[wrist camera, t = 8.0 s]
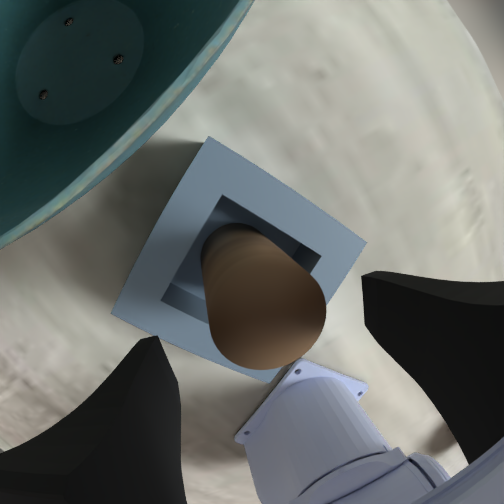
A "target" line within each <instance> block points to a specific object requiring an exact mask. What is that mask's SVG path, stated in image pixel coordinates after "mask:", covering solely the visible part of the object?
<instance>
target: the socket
mask: <svg viewBox="0 0 504 504" xmlns="http://www.w3.org/2000/svg"><path fill="white" fill-rule="evenodd" d="M231 223H243V224H247V225H250V226H252V227H254V228H256V229H257V230H259V231H260V232H261V233H262V234H263V235H265V236H266V237H267V238H268V239H269V240H270V241H272V242H273V243H274V244H275V245H276V246H278V247H279V248H280V249H281V250H282V251H284V252H285V253H286V254H287V255H288V256H289V257H291V258H292V259H293V260H294V261H295V262H296V263H298V264H299V265H300V266H301V267H302V268H303V269H305V270H306V271H307V272H308V273H309V274H310V275H311V276H312V277H313V278H315V280H316V281H317V282H318V284H319V285H320V287H321V289H322V291H323V294H324V296H325V301H326V305H327V304H328V302H329V301H330V299H331V298H332V296H333V295H334V294H335V292H336V291H337V289H338V287H339V286H340V284H341V283H342V281H343V280H344V278H345V277H346V275H347V274H348V272H349V271H350V269H351V267H352V266H353V264H354V263H355V261H356V260H357V258H358V256H359V255H360V253H361V252H362V250H363V248H364V247H365V245H366V243H367V242H366V241H364V240H363V239H362V238H360V237H359V236H358V235H356V234H355V233H354V232H352V231H351V230H350V229H348V228H347V227H345V226H344V225H343V224H341V223H340V222H339V221H337V220H336V219H334V218H333V217H332V216H330V215H329V214H327V213H326V212H325V211H323V210H322V209H320V208H319V207H317V206H316V205H315V204H313V203H312V202H310V201H309V200H307V199H306V198H304V197H303V196H302V195H300V194H299V193H297V192H296V191H294V190H293V189H291V188H290V187H288V186H287V185H285V184H284V183H282V182H281V181H279V180H278V179H276V178H275V177H273V176H272V175H270V174H269V173H267V172H266V171H264V170H263V169H261V168H259V167H258V166H256V165H255V164H253V163H252V162H250V161H248V160H247V159H245V158H244V157H242V156H241V155H239V154H237V153H236V152H234V151H233V150H231V149H229V148H228V147H226V146H224V145H223V144H221V143H220V142H218V141H216V140H215V139H213V138H211V137H210V136H208V138H207V139H206V141H205V142H204V144H203V145H202V147H201V149H200V150H199V152H198V153H197V155H196V157H195V158H194V160H193V161H192V163H191V165H190V166H189V168H188V169H187V171H186V173H185V174H184V176H183V178H182V179H181V181H180V183H179V184H178V186H177V188H176V190H175V191H174V193H173V195H172V196H171V198H170V200H169V202H168V203H167V205H166V207H165V209H164V210H163V212H162V214H161V216H160V217H159V219H158V221H157V223H156V225H155V226H154V228H153V230H152V232H151V234H150V236H149V238H148V239H147V241H146V243H145V245H144V247H143V249H142V251H141V253H140V255H139V257H138V258H137V260H136V262H135V264H134V266H133V268H132V270H131V272H130V274H129V276H128V278H127V280H126V282H125V284H124V286H123V288H122V291H121V293H120V295H119V297H118V299H117V301H116V303H115V305H114V307H113V310H112V312H111V314H113V315H114V316H116V317H118V318H120V319H122V320H124V321H126V322H128V323H130V324H132V325H134V326H136V327H138V328H140V329H142V330H144V331H146V332H148V333H150V334H152V335H154V336H156V335H158V337H159V338H160V339H163V340H165V341H167V342H169V343H171V344H173V345H175V346H178V347H180V348H182V349H184V350H187V351H189V352H191V353H193V354H196V355H198V356H200V357H203V358H205V359H207V360H210V361H212V362H215V363H217V364H220V365H222V366H224V367H227V368H229V369H232V370H235V371H237V372H240V373H242V374H245V375H247V376H250V377H253V378H255V379H258V380H261V381H264V382H266V383H270V382H271V381H272V380H273V378H274V377H275V376H276V374H277V373H278V372H279V371H280V369H281V368H282V367H283V366H282V367H279V368H275V369H269V370H253V369H247V368H244V367H241V366H238V365H236V364H234V363H232V362H231V361H229V360H228V359H226V358H225V357H224V356H223V355H222V354H221V353H220V351H219V350H218V349H217V347H216V346H215V344H214V342H213V339H212V337H211V333H210V328H209V321H208V314H207V307H206V300H205V293H204V285H203V277H202V269H201V259H200V257H201V250H202V247H203V244H204V242H205V241H206V239H207V238H208V236H209V235H210V234H211V233H212V232H213V231H215V230H216V229H218V228H219V227H221V226H223V225H226V224H231Z"/></svg>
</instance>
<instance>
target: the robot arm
mask: <svg viewBox="0 0 504 504" xmlns="http://www.w3.org/2000/svg"><path fill="white" fill-rule="evenodd" d="M361 279H362V291H363V305H364V322H365V326H366V327H367V329H368V330H369V332H370V333H371V335H372V336H373V337H374V339H375V340H376V341H377V342H378V344H379V345H380V346H381V347H382V348H383V349H384V350H385V351H386V352H387V353H388V354H389V355H390V356H391V357H392V358H393V359H394V360H395V361H396V362H397V363H398V364H399V365H400V366H401V367H402V368H403V369H404V370H405V371H406V372H407V373H408V374H409V375H410V376H411V377H412V378H413V379H414V380H415V381H416V382H417V383H418V385H419V386H420V387H421V388H422V389H423V391H424V392H425V393H426V395H427V396H428V397H429V399H430V400H431V401H432V403H433V404H434V405H435V407H436V408H437V410H438V411H439V413H440V414H441V416H442V417H443V419H444V420H445V422H446V423H447V425H448V427H449V428H450V430H451V432H452V433H453V435H454V437H455V438H456V440H457V442H458V444H459V446H460V448H461V449H462V451H463V453H464V455H465V457H466V459H467V462H468V464H469V465H468V466H467V467H466V468H464V469H463V470H462V471H460V472H459V473H457V474H456V475H455V476H453V477H452V478H451V477H450V476H449V475H448V473H447V472H446V471H445V469H444V468H443V467H442V466H441V465H440V464H439V463H438V462H437V461H436V460H435V459H434V458H432V457H431V456H429V455H425V454H420V453H416V452H414V453H412V454H410V455H409V456H407V457H406V456H405V455H404V453H403V452H402V451H401V449H400V448H399V447H396V448H395V449H393V450H392V448H391V447H390V445H389V444H388V443H387V441H386V440H385V439H384V437H383V436H382V434H381V433H380V432H379V430H378V429H377V427H376V426H375V425H374V423H373V422H372V421H371V419H370V418H369V416H368V415H367V414H366V412H365V411H364V409H363V408H362V407H361V405H360V404H359V403H358V401H359V399H360V398H361V397H362V396H363V395H364V394H365V392H366V391H367V390H368V387H369V386H368V385H367V383H365V382H362V381H360V380H357V379H354V378H352V377H349V376H346V375H344V374H341V373H339V372H336V371H333V370H331V369H328V368H326V367H323V366H321V365H318V364H316V363H313V362H311V361H308V360H306V359H298V360H297V361H296V362H295V363H294V364H293V365H292V367H291V368H290V369H289V371H288V372H287V373H286V374H285V376H284V377H283V378H282V380H281V381H280V382H279V383H278V385H277V386H276V387H275V388H274V390H273V391H272V392H271V393H270V395H269V396H268V397H267V398H266V400H265V401H264V402H263V403H262V405H261V406H260V407H259V408H258V409H257V411H256V412H255V413H254V414H253V415H252V417H251V418H250V419H249V420H248V421H247V422H246V424H245V425H244V426H243V427H242V428H241V429H240V431H239V432H238V433H237V434H236V435H235V437H234V440H235V442H236V443H239V444H243V445H244V447H245V451H246V455H247V459H248V463H249V466H250V470H251V474H252V478H253V481H254V485H255V488H256V492H257V495H258V498H259V499H260V501H261V503H262V504H504V281H498V282H459V281H448V280H439V279H432V278H425V277H419V276H413V275H407V274H401V273H394V272H386V271H374V272H371V273H368V274H365V275H363V276H361ZM297 369H299V370H298V371H296V372H295V370H297ZM245 431H247V432H245ZM0 504H187V501H186V496H185V490H184V484H183V478H182V471H181V403H180V394H179V387H178V381H177V379H176V377H175V375H174V372H173V370H172V368H171V366H170V363H169V361H168V359H167V356H166V354H165V352H164V349H163V347H162V345H161V342H160V340H159V337H158V335H156V336H152V337H148V338H144V339H140V340H139V341H138V342H137V343H136V344H135V346H134V347H133V348H132V349H131V350H130V351H129V353H128V354H127V355H126V356H125V358H124V359H123V360H122V361H121V362H120V364H119V365H118V366H117V367H116V368H115V370H114V371H113V372H112V373H111V374H110V375H109V376H108V377H107V378H106V380H105V381H104V382H103V383H102V384H101V385H100V386H99V387H98V388H97V389H96V390H95V391H94V392H93V393H92V394H91V395H90V396H89V397H88V398H87V399H86V400H85V401H84V402H83V403H82V404H81V405H79V406H78V407H77V408H76V409H75V410H74V411H72V412H71V413H70V414H68V415H67V416H66V417H64V418H63V419H62V420H60V421H59V422H58V423H56V424H55V425H53V426H52V427H51V428H49V429H48V430H46V431H44V432H43V433H41V434H39V435H38V436H36V437H34V438H32V439H31V440H29V441H27V442H25V443H23V444H21V445H19V446H17V447H14V448H12V449H10V450H7V451H5V452H3V453H0Z"/></svg>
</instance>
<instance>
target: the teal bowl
mask: <svg viewBox="0 0 504 504" xmlns="http://www.w3.org/2000/svg"><path fill="white" fill-rule="evenodd" d="M254 1H255V0H0V249H2V248H4V247H5V246H7V245H9V244H10V243H12V242H14V241H15V240H17V239H19V238H21V237H22V236H24V235H26V234H27V233H29V232H31V231H33V230H34V229H36V228H37V227H39V226H40V225H42V224H43V223H45V222H46V221H48V220H49V219H51V218H52V217H54V216H55V215H57V214H58V213H60V212H61V211H62V210H64V209H65V208H67V207H68V206H69V205H71V204H72V203H73V202H75V201H76V200H77V199H79V198H80V197H82V196H83V195H85V194H86V193H87V192H88V191H89V190H91V189H92V188H93V187H94V186H96V185H97V184H98V183H99V182H101V181H102V180H103V179H104V178H106V177H107V176H108V175H109V174H110V173H112V172H113V171H114V170H115V169H116V168H117V167H119V166H120V165H121V164H122V163H123V162H124V161H126V160H127V159H128V158H129V157H130V156H131V155H132V154H133V153H134V152H135V151H137V150H138V149H139V148H140V147H141V146H142V145H143V144H144V143H145V142H146V141H147V140H148V139H149V138H150V137H151V136H152V135H153V134H154V133H155V132H156V131H157V130H158V129H159V128H160V127H161V126H162V125H163V124H164V123H165V122H166V121H167V120H168V118H169V117H170V116H171V115H172V114H173V113H174V112H175V110H176V109H177V108H178V107H179V106H180V105H181V104H182V103H183V101H184V100H185V99H186V98H187V96H188V95H189V94H190V93H191V92H192V91H193V89H194V88H195V87H196V86H197V85H198V83H199V82H200V81H201V79H202V78H203V77H204V75H205V74H206V73H207V71H208V70H209V69H210V67H211V66H212V65H213V64H214V62H215V61H216V60H217V59H218V57H219V56H220V54H221V53H222V51H223V50H224V49H225V47H226V46H227V44H228V43H229V41H230V40H231V38H232V37H233V35H234V34H235V32H236V30H237V29H238V27H239V25H240V24H241V22H242V21H243V19H244V17H245V16H246V14H247V13H248V11H249V9H250V7H251V6H252V4H253V2H254ZM69 18H72V19H73V22H72V24H71V25H69V26H66V25H65V22H66V21H67V20H68V19H69ZM118 55H120V56H123V61H122V63H120V64H115V63H114V62H113V61H114V58H115V57H116V56H118ZM44 90H47V92H48V95H47V97H46V98H45V99H43V100H42V99H40V93H41V92H42V91H44Z"/></svg>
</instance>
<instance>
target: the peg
mask: <svg viewBox="0 0 504 504" xmlns="http://www.w3.org/2000/svg"><path fill="white" fill-rule="evenodd" d="M200 259H201V269H202V277H203V285H204V293H205V300H206V307H207V314H208V321H209V328H210V333H211V337H212V339H213V342H214V344H215V346H216V347H217V349H218V350H219V351H220V353H221V354H222V355H223V356H224V357H225V358H226V359H228V360H229V361H231V362H232V363H234V364H236V365H238V366H241V367H244V368H247V369H253V370H269V369H275V368H279V367H282V366H285V365H288V364H290V363H292V362H294V361H295V360H297V359H299V358H300V357H301V356H303V355H304V354H305V353H306V352H307V351H308V350H309V349H310V348H311V347H312V346H313V345H314V343H315V342H316V341H317V339H318V337H319V336H320V334H321V332H322V329H323V326H324V323H325V319H326V301H325V296H324V294H323V291H322V289H321V287H320V285H319V284H318V282H317V281H316V280H315V278H313V277H312V276H311V275H310V274H309V273H308V272H307V271H306V270H305V269H303V268H302V267H301V266H300V265H299V264H298V263H296V262H295V261H294V260H293V259H292V258H291V257H289V256H288V255H287V254H286V253H285V252H284V251H282V250H281V249H280V248H279V247H278V246H276V245H275V244H274V243H273V242H272V241H270V240H269V239H268V238H267V237H266V236H265V235H263V234H262V233H261V232H260V231H259V230H257V229H256V228H254V227H252V226H250V225H247V224H243V223H231V224H226V225H223V226H221V227H219V228H218V229H216V230H215V231H213V232H212V233H211V234H210V235H209V236H208V238H207V239H206V241H205V242H204V244H203V247H202V250H201V257H200Z"/></svg>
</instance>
